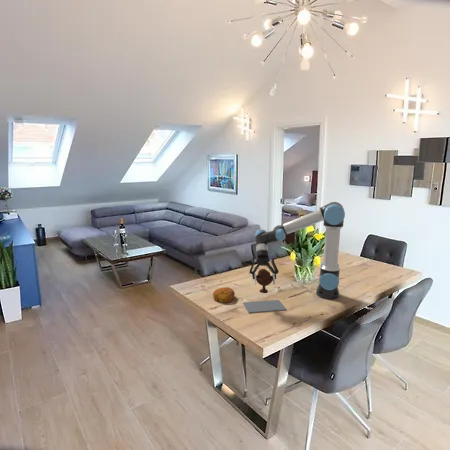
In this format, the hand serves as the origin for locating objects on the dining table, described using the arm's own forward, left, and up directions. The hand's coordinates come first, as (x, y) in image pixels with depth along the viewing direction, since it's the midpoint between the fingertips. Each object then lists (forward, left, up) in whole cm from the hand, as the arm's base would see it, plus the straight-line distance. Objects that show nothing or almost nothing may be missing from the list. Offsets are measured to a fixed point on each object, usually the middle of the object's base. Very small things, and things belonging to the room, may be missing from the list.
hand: (264, 283), depth 205 cm
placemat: (0, -3, -16) cm, 16 cm away
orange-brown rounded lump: (+28, -9, -17) cm, 34 cm away
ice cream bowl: (+1, -3, -6) cm, 7 cm away
